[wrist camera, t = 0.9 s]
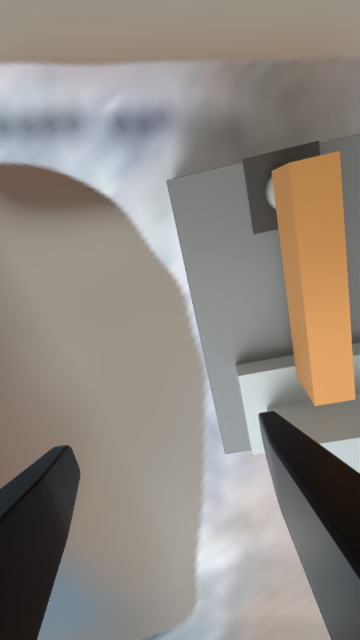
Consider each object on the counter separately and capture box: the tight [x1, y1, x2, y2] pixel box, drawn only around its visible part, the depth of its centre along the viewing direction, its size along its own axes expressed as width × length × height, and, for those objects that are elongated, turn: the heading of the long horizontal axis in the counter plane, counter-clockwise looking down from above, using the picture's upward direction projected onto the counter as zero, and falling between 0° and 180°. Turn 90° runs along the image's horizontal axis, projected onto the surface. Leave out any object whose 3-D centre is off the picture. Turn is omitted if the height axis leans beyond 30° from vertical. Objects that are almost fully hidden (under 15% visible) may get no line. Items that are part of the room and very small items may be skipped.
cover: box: [235, 343, 360, 473], centre depth 16 cm, size 7×5×4 cm
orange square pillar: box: [265, 151, 355, 406], centre depth 14 cm, size 2×9×4 cm, turn 13°
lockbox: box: [166, 134, 360, 454], centre depth 19 cm, size 10×15×5 cm, turn 12°
